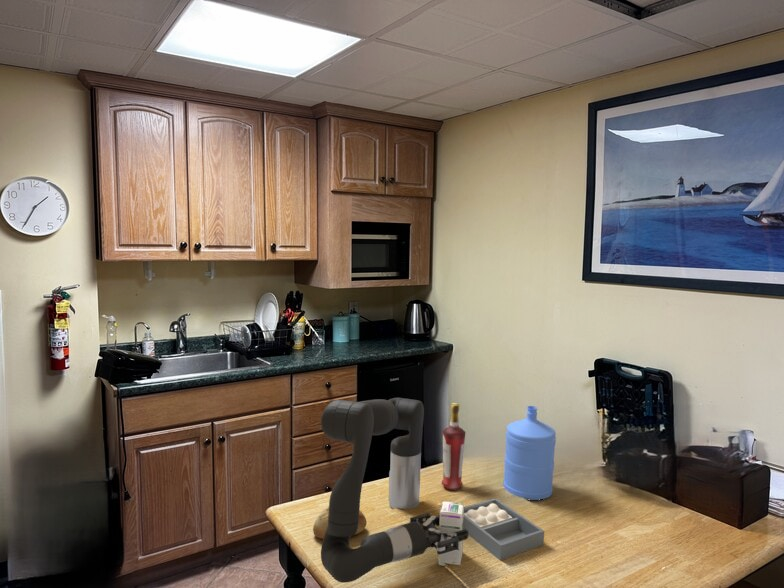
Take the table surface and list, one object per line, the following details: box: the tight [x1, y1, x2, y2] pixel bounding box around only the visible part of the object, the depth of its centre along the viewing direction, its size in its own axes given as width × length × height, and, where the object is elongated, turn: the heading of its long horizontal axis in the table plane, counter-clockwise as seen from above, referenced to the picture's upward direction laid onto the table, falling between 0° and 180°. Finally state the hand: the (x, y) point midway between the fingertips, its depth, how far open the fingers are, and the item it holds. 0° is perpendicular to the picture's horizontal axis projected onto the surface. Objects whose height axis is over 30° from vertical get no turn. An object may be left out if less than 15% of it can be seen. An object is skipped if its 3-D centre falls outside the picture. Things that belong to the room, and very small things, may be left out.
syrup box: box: [437, 501, 465, 567], centre depth 141 cm, size 6×6×14 cm
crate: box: [463, 497, 545, 561], centre depth 153 cm, size 20×15×5 cm
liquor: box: [441, 402, 466, 491], centre depth 180 cm, size 7×7×28 cm
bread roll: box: [312, 506, 367, 540], centre depth 153 cm, size 10×15×8 cm, turn 109°
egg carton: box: [464, 503, 512, 528], centre depth 157 cm, size 8×12×5 cm
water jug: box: [502, 405, 557, 501], centre depth 179 cm, size 16×16×28 cm
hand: (457, 525), depth 142 cm, fingers closed on syrup box, 8 cm apart
